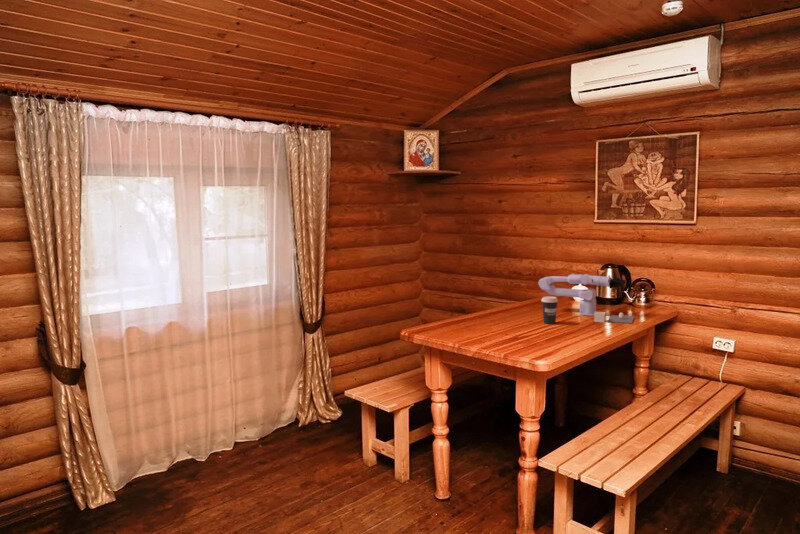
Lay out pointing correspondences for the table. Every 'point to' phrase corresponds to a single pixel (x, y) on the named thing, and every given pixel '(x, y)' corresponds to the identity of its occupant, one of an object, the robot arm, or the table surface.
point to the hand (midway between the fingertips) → (624, 283)
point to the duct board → (621, 319)
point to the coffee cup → (549, 309)
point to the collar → (599, 316)
